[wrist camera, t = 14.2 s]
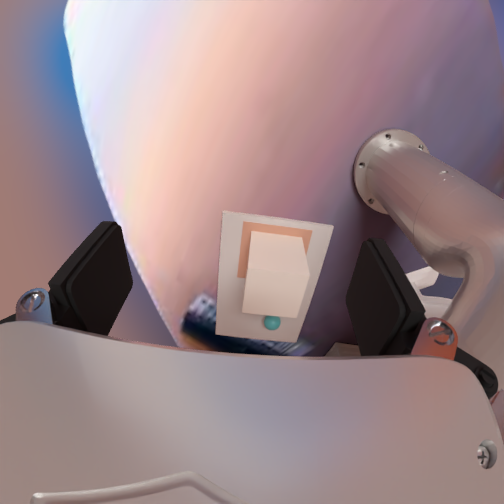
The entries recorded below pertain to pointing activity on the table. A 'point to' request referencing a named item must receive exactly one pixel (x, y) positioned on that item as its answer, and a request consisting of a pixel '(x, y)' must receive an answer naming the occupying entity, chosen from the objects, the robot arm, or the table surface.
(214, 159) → the table surface
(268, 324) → the marble
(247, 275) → the cream rectangular block
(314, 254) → the mat
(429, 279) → the heart sculpture
